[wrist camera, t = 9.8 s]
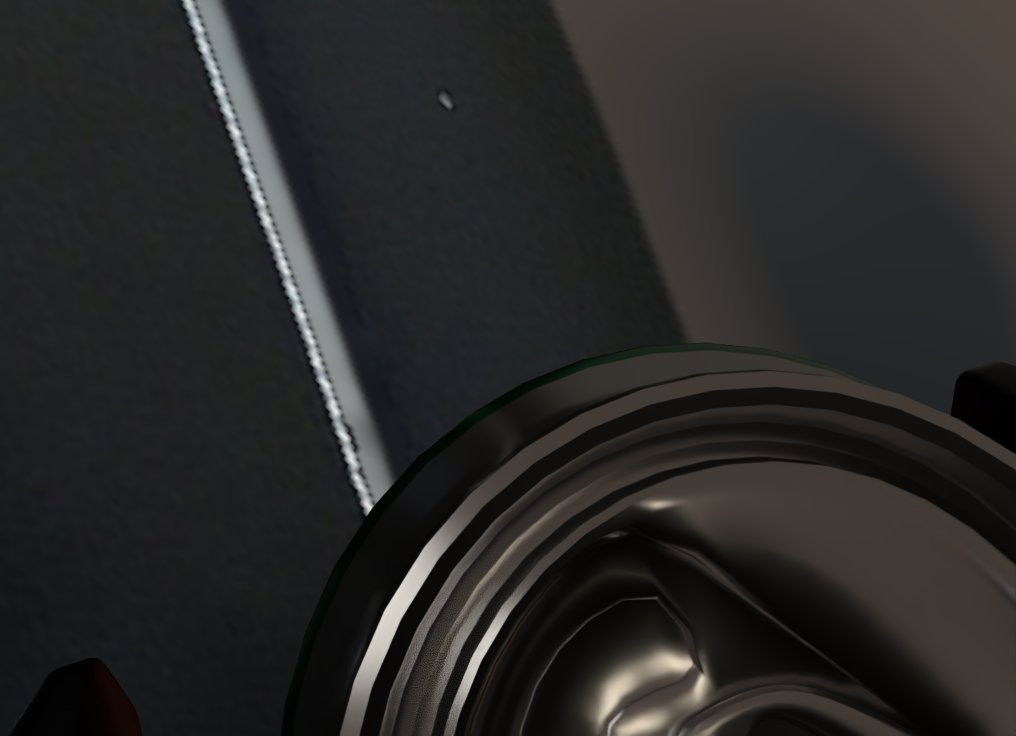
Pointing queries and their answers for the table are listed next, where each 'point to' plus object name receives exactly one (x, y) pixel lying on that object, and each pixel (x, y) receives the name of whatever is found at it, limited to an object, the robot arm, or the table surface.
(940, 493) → the soda can
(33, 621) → the table surface
